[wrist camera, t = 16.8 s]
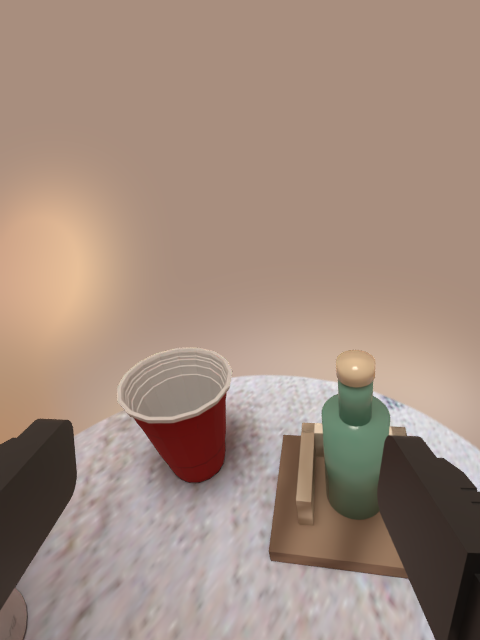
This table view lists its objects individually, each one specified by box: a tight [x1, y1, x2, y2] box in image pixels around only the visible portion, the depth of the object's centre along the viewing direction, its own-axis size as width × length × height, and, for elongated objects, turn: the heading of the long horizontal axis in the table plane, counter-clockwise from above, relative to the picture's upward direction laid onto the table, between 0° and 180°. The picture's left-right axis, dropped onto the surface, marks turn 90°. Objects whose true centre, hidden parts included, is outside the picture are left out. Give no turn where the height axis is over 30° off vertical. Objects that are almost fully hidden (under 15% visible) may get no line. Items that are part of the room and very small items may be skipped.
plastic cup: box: [117, 347, 232, 482], centre depth 39 cm, size 11×11×12 cm
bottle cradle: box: [269, 423, 426, 578], centre depth 35 cm, size 14×12×5 cm
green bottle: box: [322, 350, 390, 520], centre depth 31 cm, size 5×5×15 cm
